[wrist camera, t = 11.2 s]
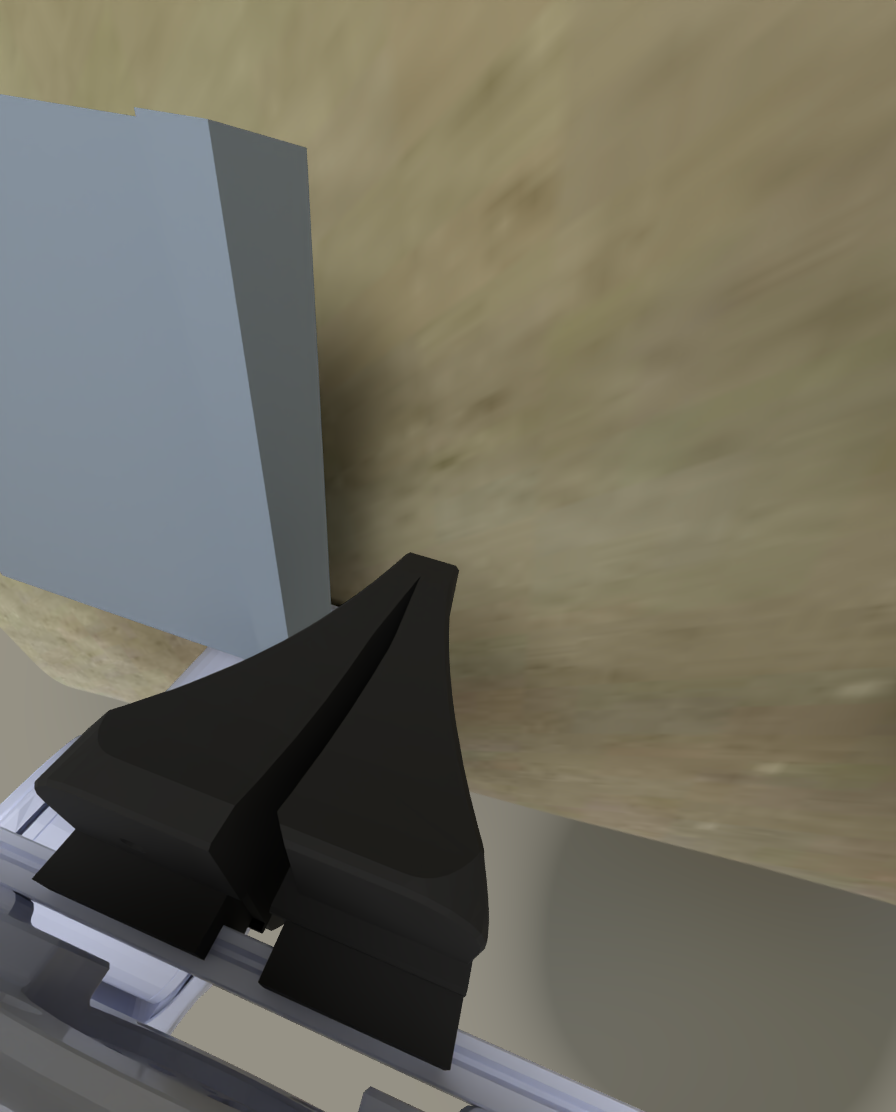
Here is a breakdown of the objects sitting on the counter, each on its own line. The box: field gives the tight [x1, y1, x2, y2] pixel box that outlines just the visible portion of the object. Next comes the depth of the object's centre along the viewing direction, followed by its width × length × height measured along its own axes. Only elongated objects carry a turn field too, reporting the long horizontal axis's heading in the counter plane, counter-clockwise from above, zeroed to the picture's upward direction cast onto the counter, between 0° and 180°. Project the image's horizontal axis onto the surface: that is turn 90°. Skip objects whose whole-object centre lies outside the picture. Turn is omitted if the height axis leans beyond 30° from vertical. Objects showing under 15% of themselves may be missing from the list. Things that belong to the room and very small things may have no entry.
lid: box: [0, 94, 331, 659], centre depth 13 cm, size 16×16×3 cm
